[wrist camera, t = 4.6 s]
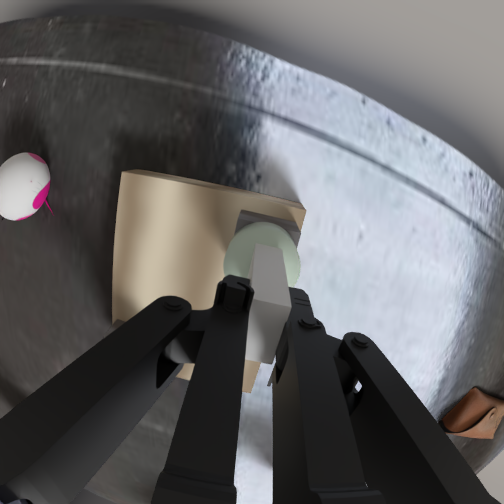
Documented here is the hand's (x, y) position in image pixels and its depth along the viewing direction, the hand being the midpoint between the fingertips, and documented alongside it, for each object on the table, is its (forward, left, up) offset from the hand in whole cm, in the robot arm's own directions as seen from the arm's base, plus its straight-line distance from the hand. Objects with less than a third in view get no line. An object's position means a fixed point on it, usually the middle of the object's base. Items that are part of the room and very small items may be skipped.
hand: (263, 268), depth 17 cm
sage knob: (0, 0, -5) cm, 5 cm away
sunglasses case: (+42, -21, -9) cm, 48 cm away
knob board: (-5, -6, -8) cm, 11 cm away
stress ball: (-23, 0, -9) cm, 24 cm away
